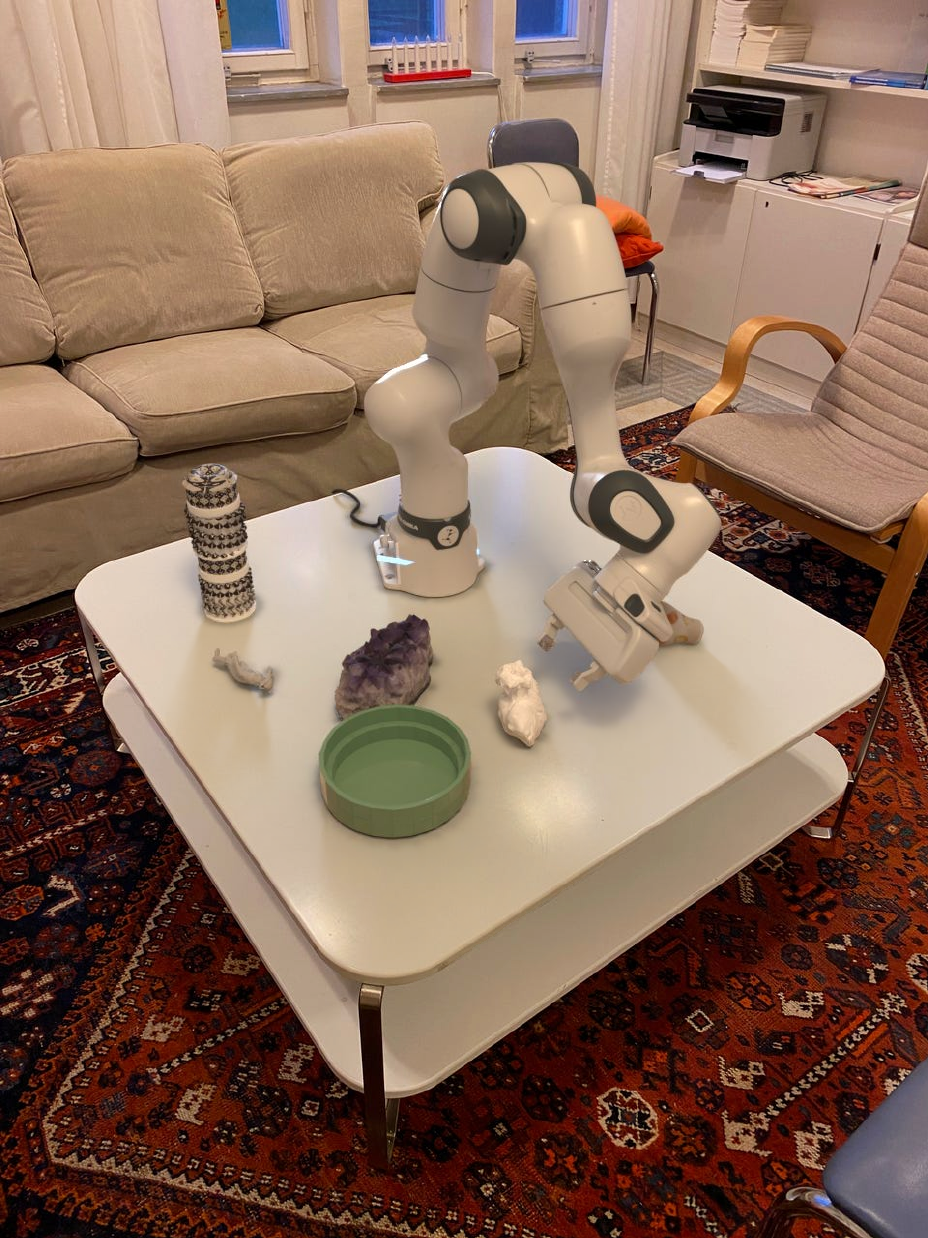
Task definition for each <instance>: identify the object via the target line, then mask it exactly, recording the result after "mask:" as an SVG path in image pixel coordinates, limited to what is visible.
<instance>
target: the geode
mask: <svg viewBox="0 0 928 1238" xmlns="http://www.w3.org/2000/svg"><path fill="white" fill-rule="evenodd" d="M430 630H431V627H430V625H429V621H428V620H427V619H426V618H422V619H421V618H420V617H419V616H417V615H416V614H414V613H413V614H410V613H409V614H408V615H407V617H406V618H405V620H402V621H399V622H398V621H391V622H389V623H388V624H387V625H386V627H383V628H379V629H378V630H377V629H376V628H374V627H372V628H370V638H369V641H367V640H366V641H365V642H364V644H363V645H361V646H360V647H358V648H357V649H356V650H354V651H352V652H351V653H350V654H349V653H348V654H346V656H345V658H344V659H343V660H342V662H341V666H342V668H343V669H342V671H341V673H340V678H339V683H338V686H337V688H336V689H335V690H334V701H335V710H336V712H337V713H338V714H339V715H340V717H341V719H342V721H343V720H344V719H346V718H348V717H350V716H352V715H354V714H356V713H358V712H360V711H363V710H366V709H370V708H374V707H378V706H385V705H396V704H399V705H412V703H414V702H415V701H417V700H418V699H419V696H420V695H421V694H422V693H423V691H425V690H426V689H427V688H428V687H429V686H430V684H431V681H432V677H431V674H430V668H429V667H430V665H431V664H432V663H433V662H434V657H435V655H434V652H433V647H432V644H431V642H432V641H431V640H432V639H431V634H430Z"/></svg>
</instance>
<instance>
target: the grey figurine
mask: <svg viewBox="0 0 928 1238" xmlns="http://www.w3.org/2000/svg"><path fill="white" fill-rule="evenodd" d="M220 653H221V649H220V647H216V648H215V650H214V656H212V658H211V660H212V662H213V663H214V662H218V663H220V664H223V665H224V666H225V667H226V666H227V668H228V670H229V672H230V675H232V677H233V678H234V680H235V681H237V682H238V683H240V684H249V685H253V686H255V687H258V689H259V690H261V689H263V690H266V691H268V693H271V692H272V691H273V690H274V687H275V686H274V683H275V676H274V675H275V674H274V673H273V668H272V667H271V666H270V665H268V666H267V668H268V669H267V673H266V674H265V675H264V674H263V673H261V672H259V671H258V670H255V669H252V668H250V667H249V665H248V664H247V663H246V662H245V661H243V660H239V659H238V658H239V657H238V653H237V651H236V650H235V651H232V652H230V653H228V655H226V656H221V654H220Z"/></svg>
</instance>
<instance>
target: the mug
mask: <svg viewBox="0 0 928 1238" xmlns="http://www.w3.org/2000/svg"><path fill="white" fill-rule="evenodd" d="M660 603H661V604H662V606H663V609H664V611H665V614H666V616H667V618H668V620H669V623H670V625H671V627H672V629H673V634H672V636H671V637H670V638H669V639H668V640H667V641H665V642H662V641H660V640H659V639H658V641H659V646H663V645H668V644H669V645H670V644H674V643H686V644H690V645H691V644H692V645H695V644H697V643H699V642H700V641H701V640H702V638H703V635H704V631H705V627H704V624H703V623H702V621H701V620H700V619H697V618H693V617H691V616H688V615H686V614H684V613H682V612H681V611H680V610H678V609H677V608H675V607H674V606H673V605H672V604H670V603H668V602H666V601H664V600H662V601H661V602H660Z"/></svg>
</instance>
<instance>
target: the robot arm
mask: <svg viewBox="0 0 928 1238" xmlns="http://www.w3.org/2000/svg"><path fill="white" fill-rule="evenodd" d="M513 260H517V261H520V262H522V263H524V264H525V265H526V266H527V267H528V268H529V269H530V271H531V272H532V275H533V278H534V281H535V285H536V293H537V299H538V305H539V309H540V316H541V321H542V325H543V329H544V333H545V336H546V339H547V344H548V346H549V351H550V352H551V355H552V359H553V361H554V364H555V367H556V369H557V372H558V374H559V377H560V380H561V382H562V386H563V388H564V392H565V395H566V400H567V406H568V412H569V413H568V414H569V418H570V425H571V432H572V437H573V445H574V449H575V466H574V471H573V476H572V480H571V483H570V490H569V501H570V506H571V509H572V511H573V513H574V515H575V517H576V518H577V519H578V521H580V522H581V523H582V524H583V525H585V526H586V527H588V528H589V529H592V530H593V531H595V532H596V533H597V534H598V535H600V536H601V537H602V538H605V539H607V540H609V541H611V542H615V543H617V544H618V545H619V549H618V551H617V552H616V553H615V554H614V555H613V556H612V557H611V558H610V559H609V561H608V562H607V563H606V564H605V565H604V566H603V567H601V566H599V564H598V563H597V562H596V561H595V560H593V559H589V560H588V559H586V560H585V559H584V560H580V561H579V562H578V563H576V565H575V566H574V567H573V568H571V569H569V570H568V571H566V572H565V573H564V574H563V575H562V576H560V577H559V578H558V579H557V580H556V581H555V582H554V583H553V584H552V585H551V586H549V588H548V589H547V590H546V591H545V593H544V595H543V598H542V603H543V604H544V605H545V606H546V607H547V608H548V610H549V611H550V612H551V613H552V614H551V615H550V616H549V617H548V618H547V621H546V624H545V627H544V630H543V633H542V634H541V635H540V636H539V638H538V639H537V640H536V643H537V645H538V646H539V647H540V648H541V649H542V650H543V651H544V652H550V651H551V650H552V648H554V647H555V645H556V644H557V642H556V641H555V638H556V636H557V633H558V632H559V630H561V631H562V630H563V629H564V628H566V629H567V630H568V631H569V632H570V634H571V635H572V636H573V637H574V639H576V641H578V643H579V644H580V645H581V646H582V647H583V648H584V649H585V650H586V651H587V652H588V653H589V655H590V656H591V657H592V658H593V659H594V660H593V661H592V662H591V663H590V665H589V666H590V668H589V669H587V670H585V671H583V672H580V671H578V670H576V671H575V673H573V675H572V676H571V677H570V678H569V682H570V684H571V685H572V686H573V687H574V688H575V689H576V690H578V691H583V690H584V689H585V688H586V687H587V686H588V685H589V684H590V683H592V682H595V681H597V680H598V681H599V680H601V679H604V678H605V676H607V675H609V677H611V678H613V679H614V680H615V681H616V682H618V683H619V684H622V685H625V684H629V683H632V682H633V681H634V680H636V678H638V677H639V676H640V674H641V673H642V672H643V671H644V670H645V669H646V668H647V667H648V666H649V664H650V663H651V662H652V661H653V659H654V658H655V657H656V655H657V653H658V652H659V648H660V645H659V641H658V639H659V640H660V641H662V642H665V641H667V640H668V639H669V638H670V637H671V636H672V634H673V629H672V627H671V625H670V623H669V620H668V618H667V616H666V614H665V611H664V609H663V606H662V604H661V603H660V602H661V601H664V599H666V597H667V596H668V595H669V593H670V591H671V589H672V587H674V584H676V582H677V581H678V580H679V579H680V578H682V577H683V576H686V575H687V574H688V573H689V572H690V571H691V570H692V569H693V568H694V567H695V566H696V565H697V563H698V562H699V561H700V560H701V559H702V558H703V556H704V555H705V554H706V553H707V552H708V550H709V549H710V547H711V546H712V545H713V543H714V542H715V541H716V539H717V538H718V535H720V532H721V530H722V526H723V525H722V521H723V520H722V517H721V514H720V512H719V510H718V509H717V507H716V506H715V504H714V503H713V502H712V500H711V499H710V497H708V495H707V494H705V493H704V491H703V490H702V489H700V487H698V486H697V485H696V484H693V483H692V482H687V483H686V482H685V483H683V482H676V481H671V480H666V479H663V478H659V477H656V476H653V475H650V474H649V473H645V472H643V471H640V470H638V469H636V468H634V467H631V465H630V464H629V462H628V460H627V459H626V457H625V455H624V452H623V449H622V443H621V437H620V436H621V435H620V430H619V422H618V415H617V409H616V400H615V399H616V398H615V387H616V381H617V377H618V374H619V371H620V369H621V366H622V364H623V362H624V361H625V358H626V357H627V355H628V352H629V351H630V349H631V346H632V307H631V300H630V293H629V290H628V289H629V287H628V283H627V277H626V272H625V268H624V263H623V259H622V257H621V251H620V248H619V245H618V242H617V240H616V236H615V234H614V231H613V228H612V226H611V222H610V220H609V218H608V216H607V215H606V213H605V212H604V211H602V209H600V208H599V207H597V195H596V190H595V187H594V185H593V182H592V181H591V179H590V177H589V175H588V174H587V173H586V172H585V171H584V170H583V169H581V168H579V167H577V166H575V165H573V164H570V163H565V162H562V161H549V162H535V161H534V162H533V161H532V162H531V161H529V162H528V161H526V162H514V163H511V164H507V165H502V166H497V167H493V168H489V169H485V168H484V169H483V168H479V169H474V170H470V171H468V172H465V173H463V174H460V175H459V176H457V177H455V178H454V179H453V180H451V181H450V182H449V184H448V185H447V186H446V188H445V190H444V191H443V193H442V197H441V201H440V203H439V204H438V206H437V208H436V212H435V214H434V217H433V220H432V222H431V225H430V228H429V231H428V234H427V236H426V241H425V245H424V249H423V254H422V257H421V261H420V268H419V273H418V278H417V283H416V289H415V293H414V299H413V304H412V310H411V311H412V312H411V314H412V319H413V323H414V324H415V326H416V327H417V329H418V330H419V332H420V333H422V334H423V336H425V347H424V350H423V352H422V354H421V355H420V356H419V357H418V358H417V359H414V360H413V361H412V360H411V361H410V362H408V363H405V364H402V365H400V366H398V367H397V368H393V369H391V370H389V371H388V372H387V373H385V374H384V375H382V376H381V377H380V378H379V379H378V380H377V381H375V382H374V383H373V384H372V385H371V386H369V388H368V389H367V391H366V393H365V395H364V398H363V399H364V400H363V410H364V411H363V412H364V416H365V419H366V422H367V424H368V425H369V428H370V430H371V431H372V432H373V433H374V434H375V435H376V437H378V438H379V439H380V440H381V441H383V442H385V443H386V444H389V445H390V446H391V448H392V450H393V452H394V453H395V455H396V459H397V462H398V469H399V483H400V494H399V497H401V498H399V500H398V501H399V504H398V507H397V510H396V511H393V512H390V513H386V514H380V515H379V516H378V517H377V522H376V523H368V522H365V521H362V520H360V519H358V518H357V517H356V516H355V513H356V512H357V511H358V510H359V508H360V507H361V501H360V499H359V498H358V497H357V496H355V494H353V493H352V492H350V491H348V490H346V489H344V488H343V489H342V488H335V489H333V490H332V491H331V494H333V495H335V494H337V493H340V494H341V493H342V494H344V495H346V496H348V497H349V498H351V499H352V500H353V501H354V502H355V503H356V505H355V506H354V507H353V509H352V510H351V511H350V512H349V513H350V514H349V517H350V519H351V520H352V521H353V522H354V523H356V524H358V525H360V526H363V527H367V528H372V529H373V528H379V527H380V530H381V531H383V532H384V534H380V535H379V538H378V539H376V540H374V542H373V544H372V549H373V552H374V556H375V559H376V564H377V566H378V571H379V573H380V577H381V581H382V584H383V587H384V588H385V589H387V590H392V591H393V590H394V591H403V592H406V593H408V594H412V595H415V596H419V597H425V598H444V597H449V596H450V597H451V596H454V595H457V594H461V593H463V592H464V591H466V590H468V589H469V588H471V587H472V586H473V585H474V583H475V582H476V580H477V577H478V574H479V573H480V572H481V571H483V570H484V569H485V568H486V559H484V558H483V557H482V556H480V555H479V554H480V549H479V540H478V529H477V527H476V526H474V524H473V523H471V517H472V508H471V502H470V500H469V462H468V459H467V457H466V456H465V455H464V454H463V452H461V451H460V450H459V449H458V448H457V447H455V446H453V445H451V442H450V430H451V429H450V428H451V426H452V424H454V423H455V422H457V421H459V420H461V419H463V418H465V417H467V416H469V415H471V414H473V413H475V412H476V411H478V410H479V409H480V408H481V407H482V406H484V405H485V404H486V403H487V402H488V401H489V400H490V399H491V398H492V397H493V396H494V394H495V393H496V391H497V389H498V386H499V380H500V379H499V378H500V375H499V369H498V365H497V362H496V361H495V359H494V357H493V355H492V354H491V353H490V352H489V351H488V348H487V330H488V324H489V321H490V316H491V311H492V308H493V307H492V306H493V302H494V298H495V294H496V289H497V286H498V281H499V277H500V273H501V268H502V266H509V265H511V263H512V262H513Z"/></svg>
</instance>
